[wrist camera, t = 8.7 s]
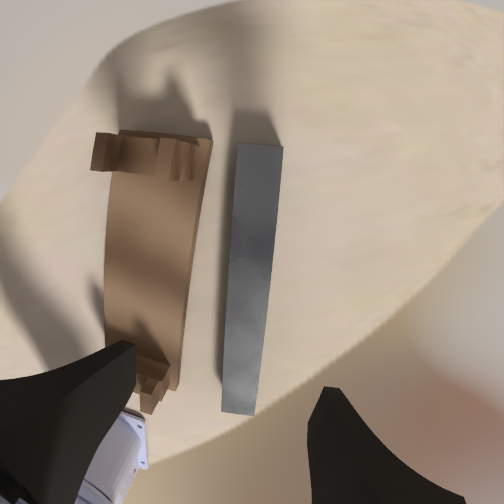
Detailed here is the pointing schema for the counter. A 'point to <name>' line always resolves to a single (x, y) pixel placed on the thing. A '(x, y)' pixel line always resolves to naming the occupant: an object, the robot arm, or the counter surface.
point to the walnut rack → (150, 247)
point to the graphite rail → (249, 272)
